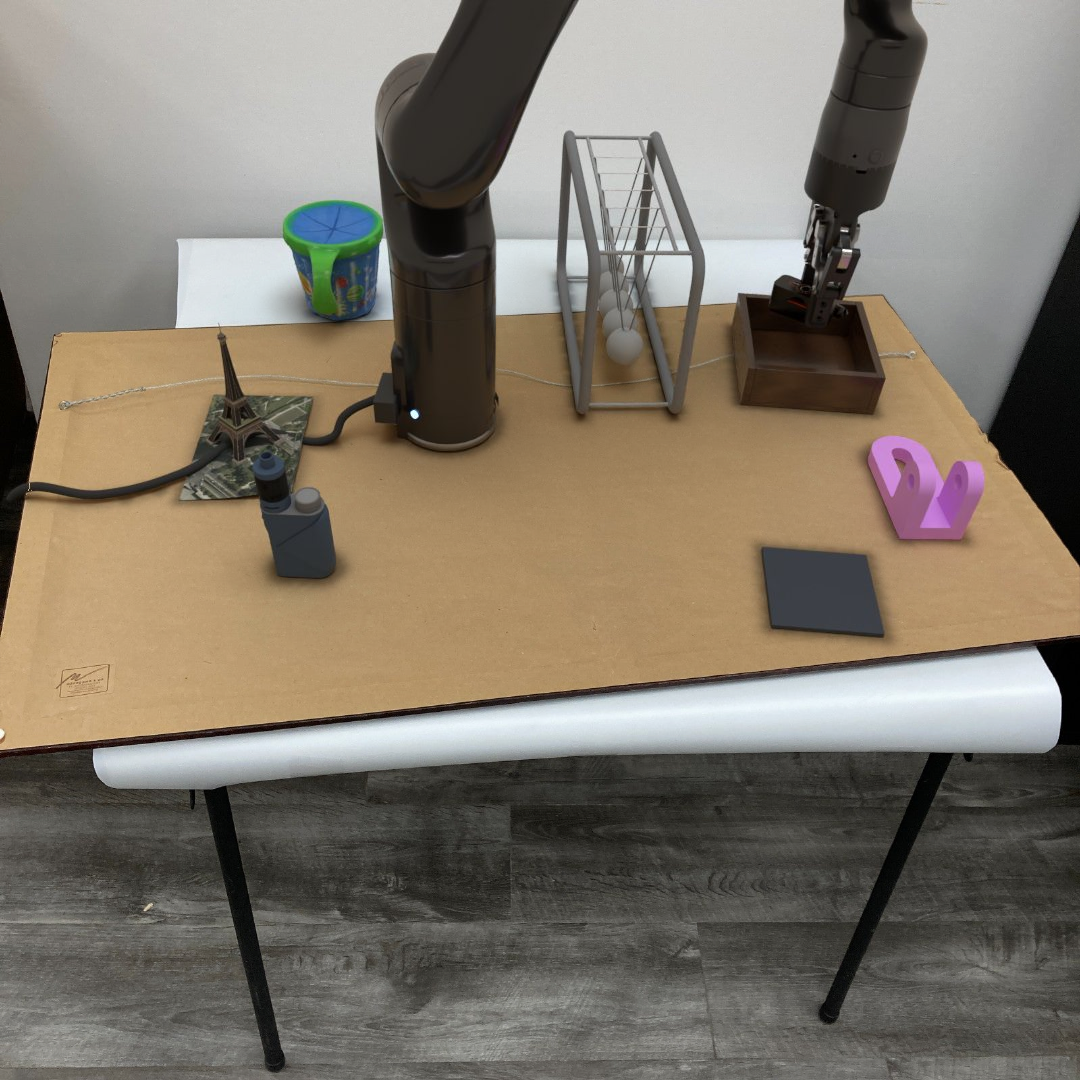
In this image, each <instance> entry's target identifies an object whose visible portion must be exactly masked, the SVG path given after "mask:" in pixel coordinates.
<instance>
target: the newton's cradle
mask: <svg viewBox="0 0 1080 1080" xmlns="http://www.w3.org/2000/svg"><path fill="white" fill-rule="evenodd" d="M577 140H585V141H586V145H587V149H588V154H589V158H590V162H591V167H592V172H593V176H594V179H595V180H594V181H595V184H596V189H597V193H598V200H599V209H600V218H601V225H602V226H601V227H602V235H603V244H604V250H602V249H601V250H600V247H599V242H598V237H597V233H596V228H595V224H594V223H595V222H594V219H593V213H592V210H591V204H590V200H589V195H588V190H587V185H586V180H585V176H584V172H583V171H584V170H583V166H582V162H581V158H580V152H579V148H578V145H577V144H578V143H577ZM591 140H607V141H609V140H610V141H611V140H612V141H614V140H615V141H619V140H620V141H638V144H639V145H638V146H639V147H640V150H641V154H642V156H641V157H639V156H595V155H594V151H593V147H592V143H591ZM643 141H647V144H646V149H645V145H644V142H643ZM561 153H562V154H561V169H560V187H559V188H560V190H559V209H558V210H559V211H558V226H557V228H558V229H557V247H556V279H557V280H556V281H557V285H558V286H557V287H558V292H559V300H560V306H561V314H562V320H563V328H564V335H565V341H566V349H567V356H568V363H569V369H570V376H571V383H572V390H573V396H574V403H575V410H576V411H577V414H580V415H586V414H587V413H588V411H589V409H590V408H614V407H615V408H618V407H619V408H624V407H625V408H627V407H628V408H630V407H633V408H635V407H636V408H637V407H641V408H643V407H647V408H648V407H667V409H668V410H669V412H671V413H672V414H678V413H680V412H681V411H682V409H683V406H684V402H685V397H686V390H687V385H688V379H689V373H690V367H691V361H692V357H693V349H694V343H695V337H696V331H697V326H698V320H699V314H700V309H701V303H702V298H703V291H704V284H705V278H706V258H705V257H706V256H705V252H704V249H703V246H702V243H701V240H700V237H699V235H698V233H697V230H696V227H695V225H694V221H693V218H692V216H691V214H690V211H689V208H688V205H687V203H686V200H685V197H684V194H683V192H682V189H681V186H680V183H679V181H678V178H677V175H676V172H675V170H674V167H673V164H672V162H671V158H670V156H669V154H668V151H667V148H666V145H665V143H664V140H663V137H662V135H661V133H660V132H659V131H656V130H655V131H653V132H651V133H650V134H649V135H593V134H592V135H587V134H586V135H585V134H583V135H582V134H581V135H580V134H575V132H574V131H573V130H570V129H569V130H566V131H565V132H564V134H563V138H562V150H561ZM597 159H640V161H639V163H638V167H637V170H636V172H599V171H598V164H597ZM643 159H644V169H643V172H639V171H640V168H641V165H642V162H643ZM656 159H657V161H658V163H659V167H660V170H661V173H662V175H663V178H664V181H665V184H666V188H667V190H668V192H669V196H670V198H671V201H672V204H673V207H674V211H675V213H676V216H677V218H678V222H679V225H680V227H681V230H682V233H683V237H684V239H685V241H686V244H687V248H688V250H679V247H678V245H677V242H676V239H675V236H674V232H673V229H672V226H671V224H670V220H669V218H668V215H667V212H666V208H665V206H664V203H663V200H662V196H661V193H660V189H659V188H658V184H657V181H656V178H655V167H656ZM601 175H634V176H635V177H634V180H633V183H632V186H631V189H602V181H601V180H602V179H601ZM638 175H643V177H642V186H641V189H634V188H635V184H636V181H637V177H638ZM571 183H573V189H574V193H575V198H576V203H577V209H578V214H579V219H580V224H581V230H582V234H583V240H584V245H585V250H586V256H587V275H567V252H568V251H567V249H568V235H569V234H568V233H569V218H570V214H569V213H570V203H571V202H570V201H571V200H570V199H571V185H572V184H571ZM605 191H608V192H609V191H610V192H611V191H612V192H613V191H615V192H617V191H618V192H629V196H628V200H627V202H626V205H625V207H617V206H616V207H610V206H609V207H608V206H607V205H606V198H605V197H606V196H605ZM633 192H640V193H639V195H638V199H637V203H636V205H635V207H629V203H630V200H631V197H632V194H633ZM653 193H654V194H655V197H656V200H657V204H658V206H659V207H651V200H652V196H653ZM609 209H616V210H617V209H624V212H623V215H622V217H621V222H620V225H619V226H618V225H617V226H615V225H611V221H610V213H609ZM628 209H629V210H630V209H632V210H634V212H633V215H632V219H631V222H630V225H629V226H627V225H626V226H624V225H623V224H624V219H625V217H626V213H627V210H628ZM638 209H639V212H638V222H637V226H634V225H633V224H634V223H633V222H634V220H635V217H636V214H637V210H638ZM650 210H656V211H655V214H654V217H653V221H652V223H651V226H649V218H650ZM659 210H660V213H661V216H662V218H663V222H664V224H665V226H655V222H656V220H657V216H658V214H659V213H658V212H659ZM614 228H618V230H617V231H618V232H617V235H616V237H615V235H614ZM622 228H628V232H627V235H626V238H625V242H624V245H623V247H622V250H617V247H616V245H617V242H618V239H619V236H620V232H621V229H622ZM632 228H637V229H636V230H637V232H636V239H635V241H634V245H633V249H632V250H626V246H627V242H628V239H629V237H630V234H631V229H632ZM649 228H650V230H649V233H648V229H649ZM654 228H655V229H657V228H662V230H661V233H660V236H659V239H658V242H657V244H656V248H655V250H647V246H648V245H649V240H650V237H651V234H652V231H653V229H654ZM665 229H666V231H667V234H668V237H669V240H670V244H671V247H672V249H673V250H658V249H659V246H660V244H661V240H662V237H663V234H664V232H665ZM647 234H648V235H647ZM623 256H630V257H629V261H628V264H627V267H626V269H625V264H624V261H623ZM633 256H634V258H633ZM645 256H653V257H652V260H651V263H650V266H649V268H648V272H647V275H646V277H645V273H644V271H645V270H644V262H645ZM656 256H690V257H691V262H692V265H691V267H692V269H691V271H692V272H691V274H692V275H691V281H690V288H689V294H688V295H689V296H688V301H687V307H686V311H685V312H686V313H685V319H684V326H683V331H682V338H681V345H680V349H679V350H680V351H679V357H678V363H677V369H676V376H675V382H673V378H672V374H671V371H670V367H669V363H668V360H667V359H668V358H667V356H666V351H665V348H664V344H663V340H662V337H661V334H660V330H659V326H658V323H657V318H656V315H655V311H654V307H653V303H652V300H651V296H650V292H649V288H648V285H647V282H648V280H649V276H650V273H651V270H652V268H653V264H654V261H655V259H656ZM632 259H633V275H628V272H629V268H630V266H631V262H632ZM625 270H626V271H625ZM624 273H625V274H624ZM568 280H587V283H586V295H585V308H584V323H583V335H582V346H581V348H582V349H581V359H580V354H579V346H578V341H577V334H576V328H575V322H574V321H575V320H574V314H573V309H572V301H571V296H570V295H571V294H570V289H569V284H568ZM628 280H633V282H632V286H631V288H630V285H629V281H628ZM635 284H636V289H637V291H638V296H639V299H638V302H637V304H636V308H635V311H634V301H633V299H632V293H633V290H634V288H635V287H634V286H635ZM640 304H641V306H642V312H643V315H644V319H645V324H646V327H647V331H648V335H649V339H650V343H651V347H652V351H653V354H654V358H655V363H656V366H657V369H658V374H659V378H660V382H661V386H662V390H663V394H664V397H665V401H664V402H661V401H659V402H591V393H592V380H593V379H592V378H593V369H594V356H595V347H596V335H597V334H596V333H597V322H598V312H599V314H600V317H601V318H602V333H603V336H605V338H606V339H607V340H606V344H605V345H606V346H605V347H606V353H607V355H608V357H609V358H610V360H612V361H613V362H614V363H616V364H618V365H623V366H626V365H631V364H634V363H635V362H636V361H637V360H638V359H639V358H640V357H641V355H642V353H643V349H644V342H643V339H642V336H641V335H640V334H639V332H638V329H639V322H638V318H637V316H636V315H637V312H638V310H639V307H640V306H639V305H640ZM633 311H634V312H633Z"/></svg>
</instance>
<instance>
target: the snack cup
mask: <svg viewBox="0 0 1080 1080" xmlns="http://www.w3.org/2000/svg"><path fill="white" fill-rule="evenodd" d="M383 237H384V221H383V217H382V216H381V214H380V213H379V212H378V211H377V210H375V209H374V208H372V207H370V206H368V205H367V204H364V203H360V202H357V201H351V200H345V199H329V200H328V199H326V200H320V201H319V200H318V201H313V202H310V203H307V204H303V205H301V206H298V207H297V208H294V209H293V210H292V211H290V212H289V213H288V214H287V215H286V216H285V218H284V219H283V222H282V238H283V240H284V243H285V244H286V245H287V246H288V247H289V249H290V250H291V253H292V259H293V261H294V265H295V268H296V272H297V276H298V278H299V281H300V283H301V287H302V290H303V293H304V297H305V300H306V302H307V304H308V307H309V309H310V312H312V313H314V314H317V315H319V316H321V317H322V318H325V319H329V320H333V321H336V322H337V321H341V320H352V319H355V318H359V317H360V316H362V315H367V314H368V313H369V312H371V309H372V308H373V307H374V305H375V302H376V297H377V295H376V294H377V284H378V276H379V261H380V260H379V259H380V245H381V242H382V239H383Z"/></svg>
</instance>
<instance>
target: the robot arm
mask: <svg viewBox="0 0 1080 1080" xmlns="http://www.w3.org/2000/svg"><path fill="white" fill-rule="evenodd" d="M579 2H580V0H460V2H459V5H458V7H457V10H456V12H455V14H454V17H453V19H452V21H451V23H450V25H449V27H448V29H447V31H446V33H445V35H444V37H443V39H442V41H441V43H440V44H439V46H438V48H437V50H436V52H424V53H418V54H415V55H412V56H409V57H407V58H405V59H404V60H402V61H401V62H399V63H398V64H397V65H395V66H394V67H393V68H392V69H391V70H390V72H389V73H388V74H387V75H386V77H384V80H383V81H382V83H381V85H380V88H379V89H378V92H377V96H376V101H375V105H374V134H375V146H376V147H375V149H376V157H377V158H376V159H377V168H378V179H379V180H378V181H379V189H380V201H381V203H380V204H381V212H382V220H383V229H384V234H385V240H386V247H387V257H388V267H389V278H390V289H391V290H390V292H391V305H392V319H393V329H394V330H393V333H394V340H393V341H394V342H393V344H392V348H391V350H390V356H389V357H390V367H391V368H390V369H391V372H385V371H384V372H382V373H381V376H380V378H379V379H380V380H379V382H378V385H377V388H376V392H375V394H373V395H371V396H368V397H366V398H363V399H361V400H358V401H357V402H354V403H353V404H351V405H349V406H347V407H346V408H345V409H344V410H342V411H341V412H340V414H339V415H338V417H337V418H336V420H335V423H334V427H333V430H332V431H331V432H330V433H328V434H326V435H324V436H318V437H310V436H305V435H304V437H303V441H302V445H304V446H311V447H323V446H326V445H329V444H332V443H334V442H335V441H337V440H338V439H339V438H340V436H341V435H342V432H343V429H344V426H345V424H346V421H347V420H348V419H349V418H350V417H352V416H353V415H354V414H356V413H358V412H360V411H362V410H365V409H367V408H369V407H372V406H373V415H374V423H375V424H386V425H395V428H396V436H397V437H398V438H402V439H404V438H405V439H408V440H410V442H412V443H414V444H416V445H418V446H419V447H421V448H425V449H428V450H431V451H432V450H433V451H440V452H455V451H462V450H466V449H471V448H473V447H476V446H478V445H480V444H482V443H483V442H484V441H486V440H487V439H488V438H489V437H490V436H491V435H492V434H493V433H494V431H495V429H496V426H497V411H496V410H497V406H498V407H499V406H500V404H499V402H500V400H499V399H500V398H499V395H498V393H497V390H496V384H497V383H496V381H497V380H496V379H497V377H496V374H497V373H496V371H497V369H496V368H497V367H496V363H497V362H496V361H497V358H496V357H497V234H496V229H495V224H494V218H493V217H494V216H493V211H492V205H491V196H490V186H491V185H492V183H493V182H494V181H495V179H496V178H497V176H498V175H499V173H500V171H501V169H502V167H503V165H504V164H505V161H506V159H507V156H508V154H509V152H510V149H511V146H512V144H513V142H514V140H515V137H516V134H517V132H518V129H519V126H520V125H521V122H522V119H523V116H524V113H525V111H526V109H527V107H528V104H529V102H530V99H531V97H532V95H533V93H534V90H535V87H536V85H537V83H538V80H539V78H540V76H541V73H542V71H543V69H544V67H545V64H546V63H547V60H548V59H549V56H550V55H551V53H552V50H553V48H554V47H555V45H556V43H557V40H558V39H559V37H560V36H561V33H562V31H563V30H564V28H565V26H566V24H567V23H568V21H569V19H570V18H571V16H572V15H573V12H574V11H575V9H576V7H577V5H578V3H579ZM913 10H914V9H913V0H843V13H842V14H843V15H842V16H843V39H842V40H843V41H842V44H841V48H840V51H839V54H838V58H837V62H836V66H835V70H834V74H833V79H832V82H831V87H830V90H829V94H828V96H827V99H826V101H825V104H824V107H823V109H822V112H821V116H820V118H819V121H818V122H819V123H818V127H817V131H816V135H815V139H814V143H813V146H812V151H811V156H810V158H809V159H810V160H809V163H808V168H807V172H806V176H805V180H804V183H803V189H804V193H805V195H807V197H808V198H809V200H811V205H810V210H809V215H808V220H807V224H806V230H805V234H804V239H803V241H802V245H803V249H806V250H805V253H804V254H803V261H804V266H803V271H802V274H801V278H800V280H803V281H805V282H808V283H811V284H813V286H812V292H811V296H810V300H809V303H808V307H807V311H806V314H805V318H804V322H805V326H806V327H811V328H824V327H826V326H827V323H828V319H829V316H830V313H831V309H832V306H833V302H834V299H836V300H844V298H845V296H846V293H847V291H848V288H849V286H850V283H851V281H852V278H853V275H854V273H855V271H856V269H857V266H858V263H859V260H860V259H861V256H862V254H861V248H858V247H855V244H857V242H858V241H859V238H860V233H861V223H860V222H859V217H860V216H861V215H863V214H864V213H865V214H866V213H867V212H871V211H875V210H876V209H878V208H879V207H881V206H882V205H883V204H884V202H885V201H886V198H887V193H888V191H889V187H890V185H891V182H892V178H893V174H894V171H895V168H896V165H897V161H898V159H899V155H900V153H901V148H902V146H903V143H904V139H905V136H906V132H907V129H908V123H909V116H910V111H911V107H912V102H913V99H914V96H915V94H916V90H917V88H918V87H917V86H918V84H919V80H920V78H921V74H922V71H923V67H924V64H925V60H926V56H927V52H928V47H929V46H928V45H929V40H928V39H929V38H928V35H927V32H926V31H925V29H924V28H923V26H922V25H921V24H920V23H919V21H918V20H917V19H916V16H915V14H914V11H913ZM496 405H497V406H496ZM270 429H271V430H272V431H273V432H274V433H275V434H290V433H288V432H286V431H283V430H278V429H272V428H270ZM258 435H266V434H265V433H263V432H253V433H251V434H250V435H249V436H248V437H247V438H249V437H253V436H258ZM231 445H233V443H232V440H231V438H229V439H227V440H225V441H224V442H222V443H221V444H219V445H218V446H217V447H215V448H214V449H213V450H211V451H210V452H209V453H207V454H206V455H205V456H203V457H202V458H200V459H199V460H197V461H196V462H194V463H192V464H191V463H190V464H188V465H187V466H184V467H182V468H180V469H177V470H174V471H172V472H171V471H170V472H169V473H166V474H163V475H161V476H158V477H154V478H151V479H148V480H144V481H142V482H138V483H134V484H130V485H125V486H118V487H114V488H113V487H112V488H106V489H94V490H93V489H79V488H75V487H70V486H65V485H60V484H56V483H52V482H51V483H50V482H45V481H29V482H26V483H22V484H20V485H17V486H16V487H14V488H13V489H12V490H10V492H9V493H8V494H7V495H6V498H5V500H6V501H8V502H12V501H16V500H18V499H19V498H20V497H22V496H23V495H25V494H28V493H32V492H43V493H49V494H54V495H59V496H63V497H68V498H72V499H79V500H88V501H89V500H90V501H91V500H92V501H93V500H94V501H96V500H109V499H115V498H121V497H127V496H132V495H135V494H136V495H137V494H140V493H144V492H148V491H151V490H154V489H157V488H160V487H163V486H166V485H168V484H171V483H174V482H177V481H179V480H181V479H184V478H186V477H187V476H189V475H191V474H193V473H195V472H196V471H198V470H200V469H201V468H203V467H205V466H206V465H207V464H209V463H210V462H212V461H213V460H214V459H215V458H217V457H218V456H219V455H220V454H221V452H223V451H224V450H226V449H227V448H228V447H230V446H231ZM29 483H30V489H29ZM28 489H29V491H28ZM31 490H32V491H31Z"/></svg>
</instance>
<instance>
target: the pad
mask: <svg viewBox="0 0 1080 1080" xmlns="http://www.w3.org/2000/svg"><path fill="white" fill-rule="evenodd" d="M761 557H762V564H763V573H764V580H765V588H766V589H765V591H766V597H767V606H768V613H769V620H770V621H769V622H770V628H771V629H780V630H791V631H804V632H805V631H806V632H816V633H828V634H829V633H830V634H842V635H853V636H855V635H856V636H866V637H878V638H879V637H880V638H884V637H885V635H886V634H885V629H884V626H883V622H882V621H883V620H882V616H881V612H880V608H879V603H878V600H877V594H876V591H875V587H874V583H873V578H872V573H871V569H870V564H869V561H868V556H867V554H862V553H861V554H859V553H849V552H848V553H847V552H834V551H822V550H821V551H820V550H810V549H797V548H783V547H770V546H762V547H761Z"/></svg>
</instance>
